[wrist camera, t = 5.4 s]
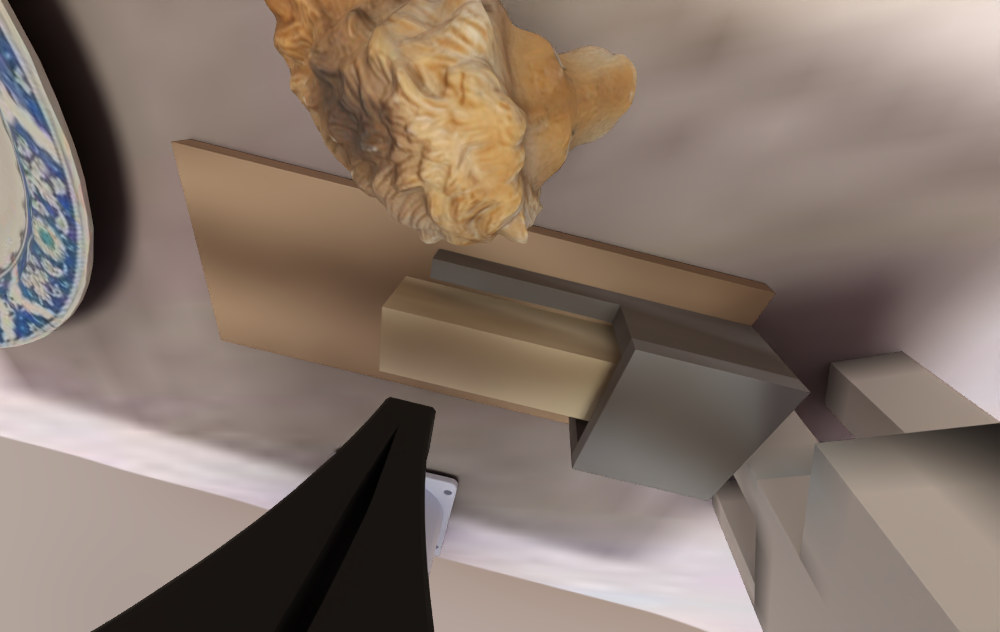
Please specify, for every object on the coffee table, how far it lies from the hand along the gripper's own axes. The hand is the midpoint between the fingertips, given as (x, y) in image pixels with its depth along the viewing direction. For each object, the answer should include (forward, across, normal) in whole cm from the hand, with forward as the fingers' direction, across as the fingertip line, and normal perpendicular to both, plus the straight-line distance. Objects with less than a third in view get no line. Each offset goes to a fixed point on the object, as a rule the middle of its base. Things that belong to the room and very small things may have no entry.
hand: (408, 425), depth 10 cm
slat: (+6, -4, 0) cm, 7 cm away
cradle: (+7, 0, 0) cm, 7 cm away
